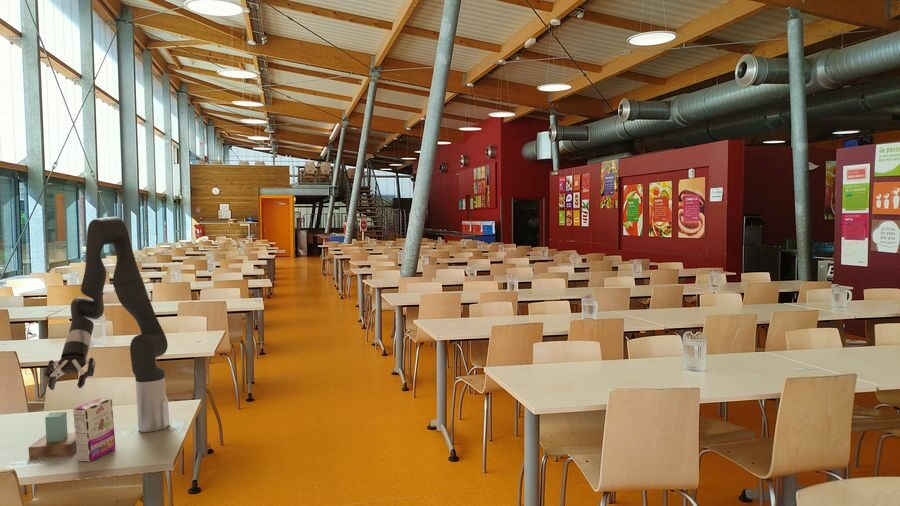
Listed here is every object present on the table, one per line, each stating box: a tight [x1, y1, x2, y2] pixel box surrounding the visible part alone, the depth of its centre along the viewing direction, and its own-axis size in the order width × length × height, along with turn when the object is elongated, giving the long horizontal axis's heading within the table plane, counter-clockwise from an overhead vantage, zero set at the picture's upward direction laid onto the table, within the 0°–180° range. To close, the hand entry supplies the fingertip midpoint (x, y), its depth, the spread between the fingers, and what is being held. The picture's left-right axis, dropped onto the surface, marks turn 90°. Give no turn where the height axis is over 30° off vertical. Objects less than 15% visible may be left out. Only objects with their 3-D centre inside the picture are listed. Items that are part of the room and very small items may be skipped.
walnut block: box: [28, 432, 77, 460], centre depth 209 cm, size 12×12×4 cm
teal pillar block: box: [44, 411, 68, 442], centre depth 209 cm, size 4×4×8 cm
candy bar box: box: [72, 397, 117, 463], centre depth 203 cm, size 11×5×16 cm, turn 168°
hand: (65, 387), depth 216 cm, fingers open, 8 cm apart
